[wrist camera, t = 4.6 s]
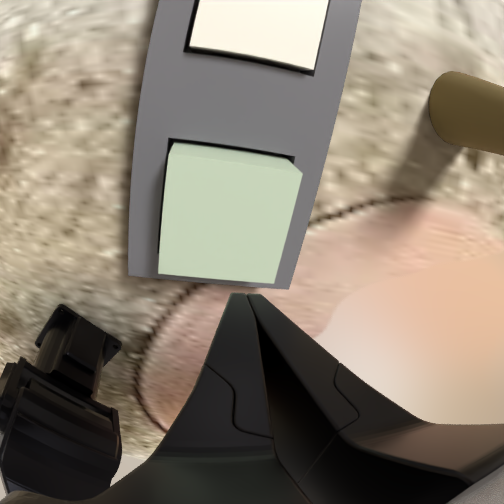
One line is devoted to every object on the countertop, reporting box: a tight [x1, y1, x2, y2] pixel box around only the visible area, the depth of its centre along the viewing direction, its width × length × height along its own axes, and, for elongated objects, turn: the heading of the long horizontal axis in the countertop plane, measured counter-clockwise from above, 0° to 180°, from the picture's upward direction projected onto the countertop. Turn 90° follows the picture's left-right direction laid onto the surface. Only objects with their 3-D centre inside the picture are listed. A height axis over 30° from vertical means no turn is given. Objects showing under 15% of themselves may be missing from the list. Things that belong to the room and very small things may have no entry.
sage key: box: [158, 142, 303, 284], centre depth 17 cm, size 6×6×3 cm
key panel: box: [128, 0, 362, 290], centre depth 16 cm, size 21×10×4 cm, turn 169°
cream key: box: [190, 0, 329, 71], centre depth 13 cm, size 6×6×3 cm
